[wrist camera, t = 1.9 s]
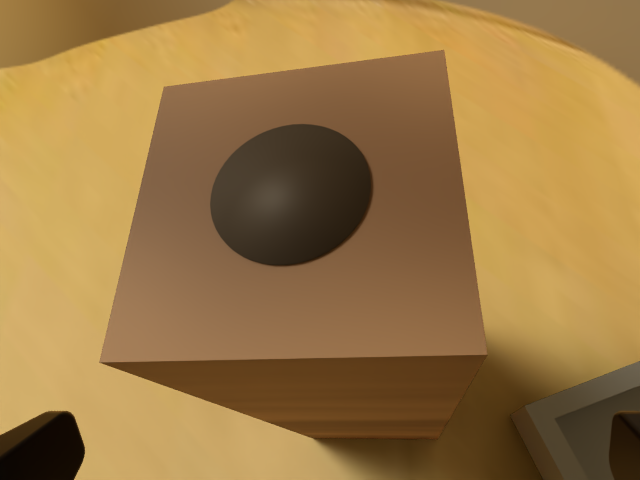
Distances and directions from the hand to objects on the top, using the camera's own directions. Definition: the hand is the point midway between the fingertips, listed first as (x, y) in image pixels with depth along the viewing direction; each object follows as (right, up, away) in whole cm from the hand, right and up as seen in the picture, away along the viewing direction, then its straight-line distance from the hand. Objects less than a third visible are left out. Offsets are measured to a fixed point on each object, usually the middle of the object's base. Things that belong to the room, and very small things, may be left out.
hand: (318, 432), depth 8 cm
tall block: (+2, -2, +10) cm, 10 cm away
